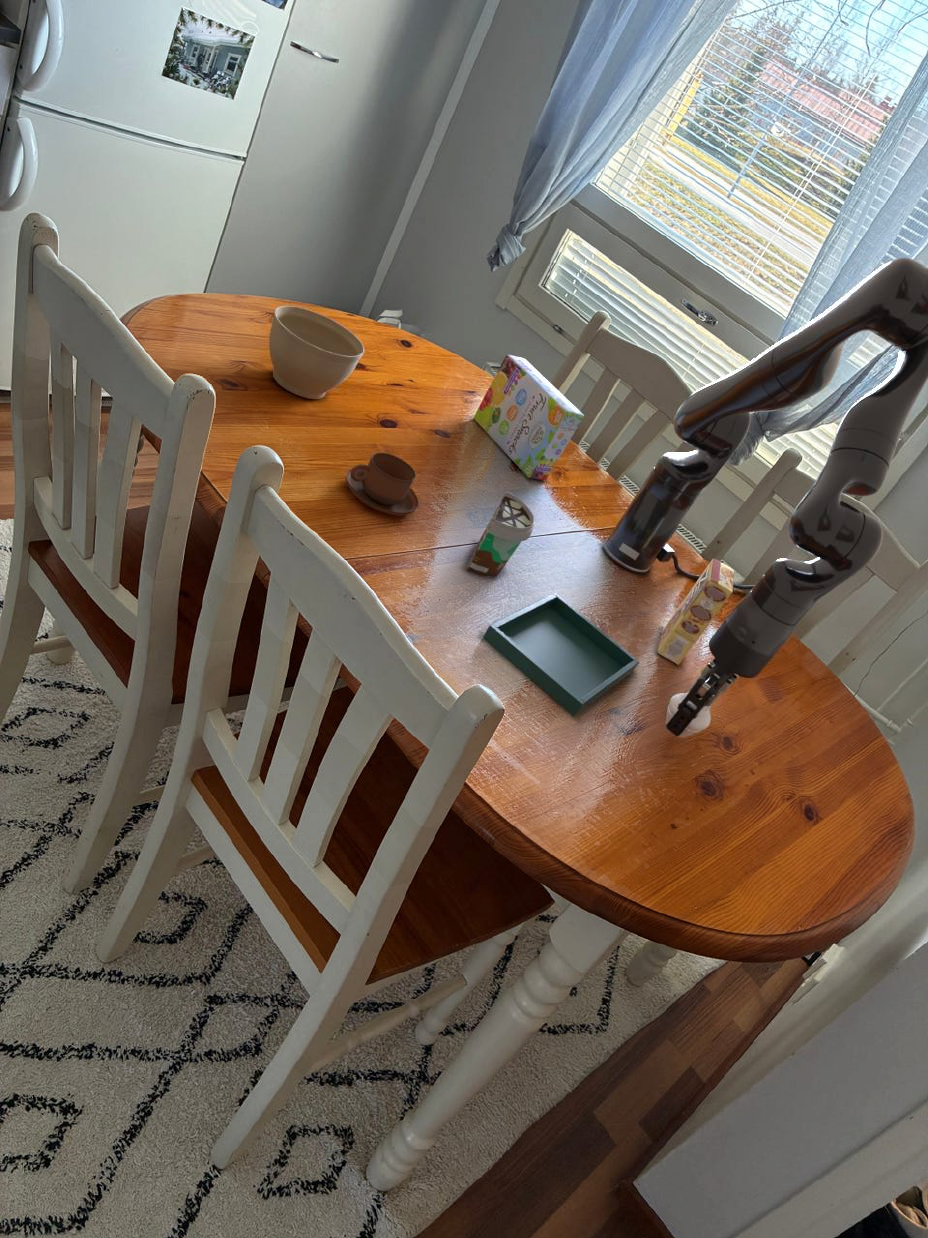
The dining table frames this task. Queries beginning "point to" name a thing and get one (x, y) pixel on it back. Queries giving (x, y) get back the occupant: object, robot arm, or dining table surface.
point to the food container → (502, 536)
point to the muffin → (696, 723)
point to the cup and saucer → (384, 484)
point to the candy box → (696, 611)
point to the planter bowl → (311, 351)
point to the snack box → (527, 417)
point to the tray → (561, 652)
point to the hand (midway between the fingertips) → (681, 722)
